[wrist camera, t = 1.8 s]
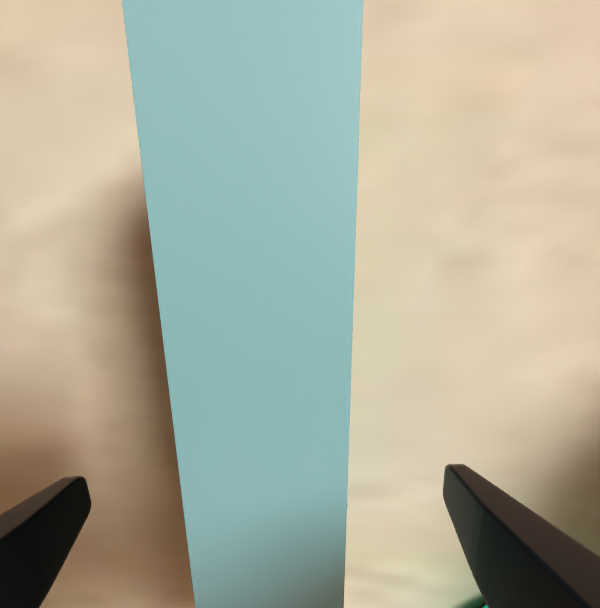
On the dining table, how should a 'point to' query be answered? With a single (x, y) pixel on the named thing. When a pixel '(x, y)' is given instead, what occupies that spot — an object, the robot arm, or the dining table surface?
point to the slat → (254, 279)
